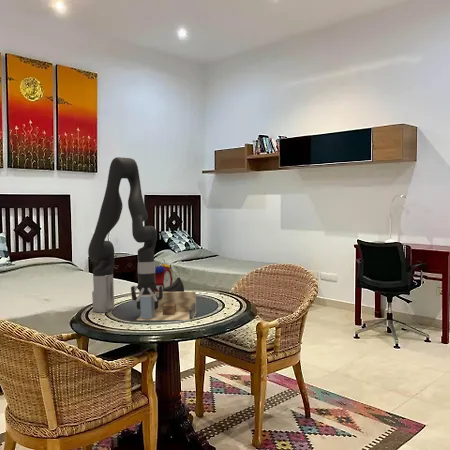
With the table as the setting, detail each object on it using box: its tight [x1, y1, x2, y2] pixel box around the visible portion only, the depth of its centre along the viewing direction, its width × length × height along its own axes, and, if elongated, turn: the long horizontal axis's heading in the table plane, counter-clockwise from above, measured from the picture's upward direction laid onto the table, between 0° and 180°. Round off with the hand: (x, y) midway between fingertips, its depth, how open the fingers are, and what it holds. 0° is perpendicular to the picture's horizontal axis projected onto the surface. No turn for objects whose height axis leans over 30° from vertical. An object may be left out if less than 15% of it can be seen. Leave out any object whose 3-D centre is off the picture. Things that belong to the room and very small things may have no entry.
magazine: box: [163, 277, 185, 292], centre depth 224 cm, size 17×3×30 cm
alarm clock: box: [155, 258, 173, 292], centre depth 247 cm, size 15×9×20 cm, turn 167°
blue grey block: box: [140, 295, 155, 319], centre depth 195 cm, size 5×7×10 cm, turn 176°
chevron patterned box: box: [135, 291, 197, 323], centre depth 197 cm, size 24×15×10 cm, turn 87°
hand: (147, 309), depth 195 cm, fingers open, 6 cm apart
